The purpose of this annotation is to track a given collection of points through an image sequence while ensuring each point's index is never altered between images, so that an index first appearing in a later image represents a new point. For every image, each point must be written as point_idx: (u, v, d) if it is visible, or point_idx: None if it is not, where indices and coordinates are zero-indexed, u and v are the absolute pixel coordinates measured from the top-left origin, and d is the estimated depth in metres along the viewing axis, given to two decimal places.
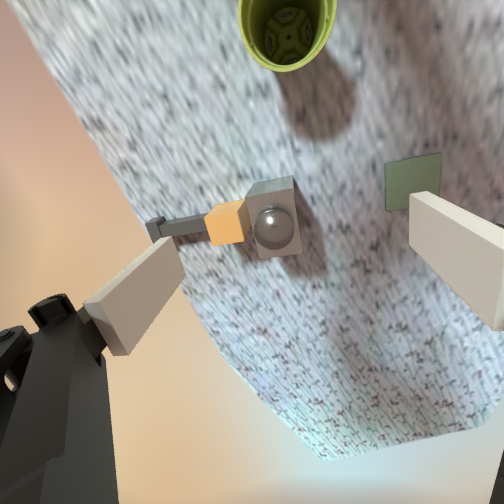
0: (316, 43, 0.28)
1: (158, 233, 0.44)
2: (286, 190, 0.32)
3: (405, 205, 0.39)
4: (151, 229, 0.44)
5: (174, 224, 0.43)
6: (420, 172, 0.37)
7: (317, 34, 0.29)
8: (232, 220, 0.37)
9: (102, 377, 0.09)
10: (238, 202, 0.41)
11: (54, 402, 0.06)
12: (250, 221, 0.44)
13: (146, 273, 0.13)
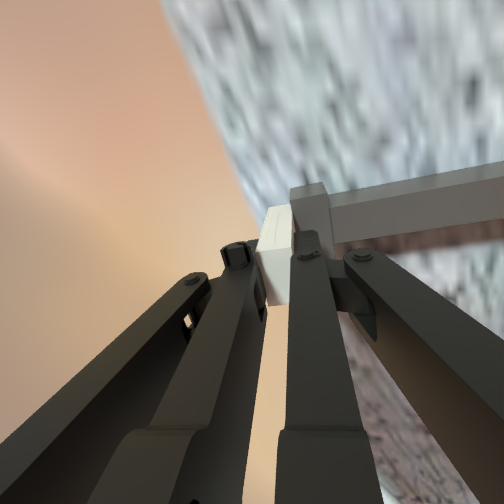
0: None
1: (326, 229, 0.15)
2: None
3: None
4: (307, 219, 0.15)
5: (387, 200, 0.14)
6: None
7: None
8: None
9: (260, 333, 0.09)
10: None
11: (216, 355, 0.06)
12: None
13: None
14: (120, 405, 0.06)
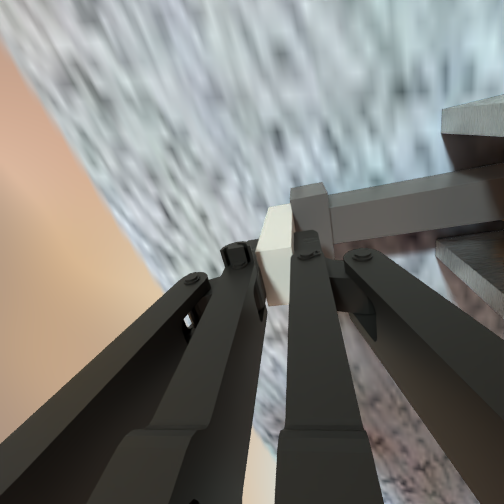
0: None
1: (325, 229, 0.15)
2: None
3: None
4: (307, 219, 0.15)
5: (387, 201, 0.14)
6: None
7: None
8: None
9: (260, 333, 0.09)
10: None
11: (216, 354, 0.06)
12: None
13: None
14: (120, 405, 0.06)
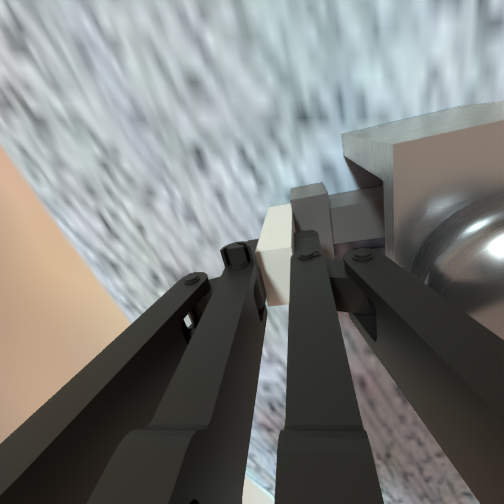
0: None
1: (326, 230, 0.15)
2: None
3: None
4: (307, 219, 0.15)
5: None
6: None
7: None
8: None
9: (260, 333, 0.09)
10: None
11: (216, 354, 0.06)
12: None
13: None
14: (120, 405, 0.06)
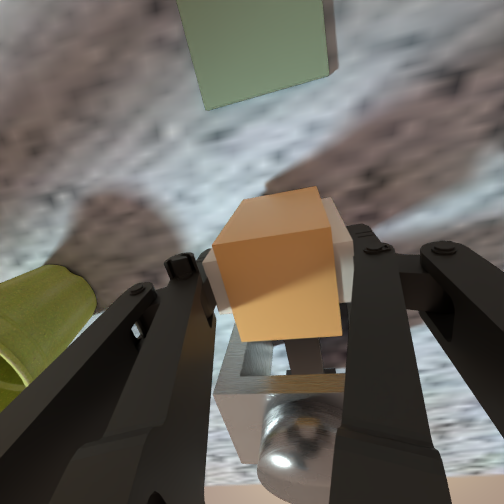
0: None
1: None
2: (219, 404, 0.13)
3: (313, 15, 0.13)
4: None
5: (293, 372, 0.18)
6: (216, 0, 0.13)
7: (18, 285, 0.19)
8: (245, 263, 0.10)
9: (210, 338, 0.10)
10: None
11: (167, 360, 0.06)
12: (304, 188, 0.15)
13: None
14: (72, 415, 0.06)
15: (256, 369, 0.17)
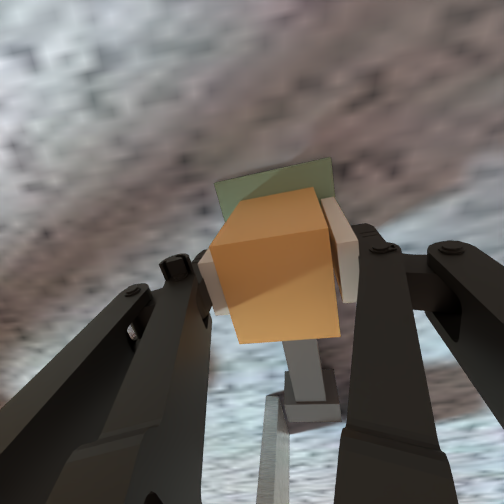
0: None
1: (312, 407, 0.19)
2: None
3: None
4: (303, 415, 0.20)
5: (292, 373, 0.18)
6: None
7: None
8: (242, 264, 0.10)
9: (206, 339, 0.10)
10: None
11: (163, 361, 0.06)
12: (301, 189, 0.15)
13: None
14: (68, 417, 0.06)
15: (281, 480, 0.21)
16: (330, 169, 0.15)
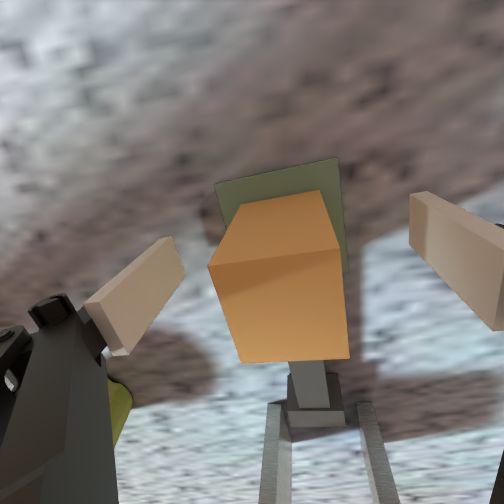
0: None
1: (316, 413, 0.19)
2: None
3: (337, 236, 0.16)
4: (306, 421, 0.19)
5: (295, 381, 0.18)
6: None
7: None
8: (244, 284, 0.09)
9: (102, 377, 0.09)
10: None
11: (54, 402, 0.06)
12: (307, 192, 0.14)
13: (146, 273, 0.13)
14: None
15: (283, 493, 0.20)
16: (337, 170, 0.14)
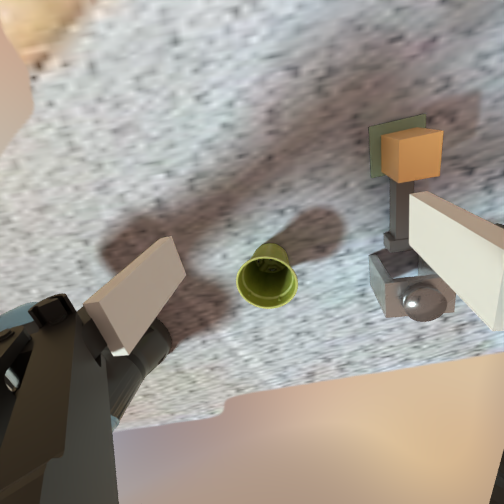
0: (281, 259, 0.40)
1: (404, 241, 0.40)
2: (386, 288, 0.37)
3: None
4: (398, 247, 0.40)
5: (397, 221, 0.39)
6: None
7: (273, 250, 0.42)
8: (409, 146, 0.30)
9: (102, 377, 0.09)
10: (384, 143, 0.35)
11: (54, 402, 0.06)
12: (412, 128, 0.35)
13: (146, 273, 0.13)
14: None
15: None
16: (425, 118, 0.35)
